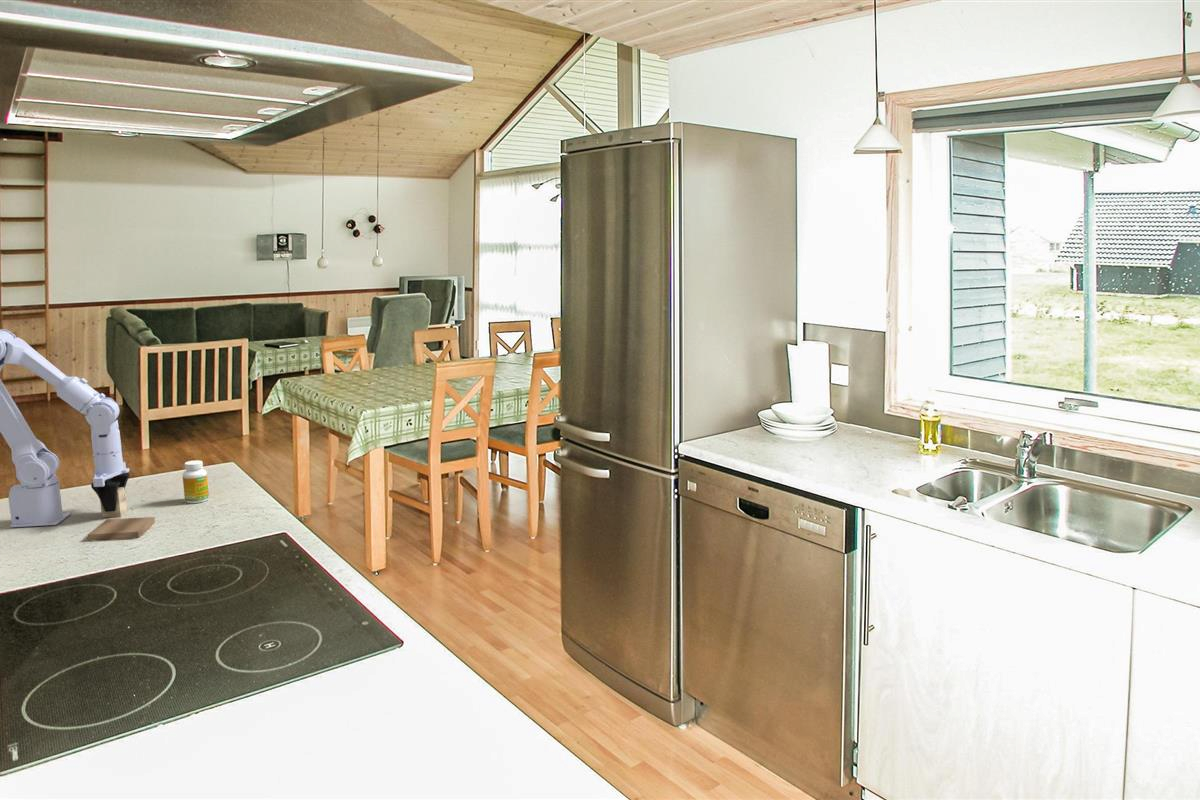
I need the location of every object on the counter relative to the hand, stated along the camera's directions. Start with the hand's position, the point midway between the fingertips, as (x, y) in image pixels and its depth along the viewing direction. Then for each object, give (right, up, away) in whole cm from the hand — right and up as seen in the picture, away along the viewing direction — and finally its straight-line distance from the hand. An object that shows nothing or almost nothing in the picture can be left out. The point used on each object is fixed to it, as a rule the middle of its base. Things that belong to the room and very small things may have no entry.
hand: (113, 508), depth 199 cm
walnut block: (+8, -4, -11) cm, 14 cm away
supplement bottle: (+14, 0, +11) cm, 18 cm away
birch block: (0, -2, 0) cm, 2 cm away
